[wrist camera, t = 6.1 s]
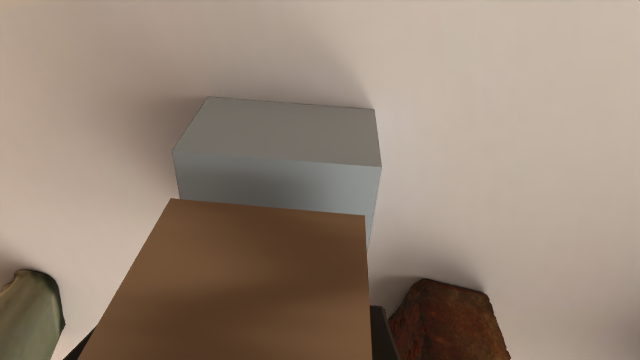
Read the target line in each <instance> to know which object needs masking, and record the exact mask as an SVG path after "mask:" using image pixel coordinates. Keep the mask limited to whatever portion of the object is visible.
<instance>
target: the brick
mask: <svg viewBox="0 0 640 360" xmlns="http://www.w3.org/2000/svg"><path fill="white" fill-rule="evenodd" d="M489 300H490V299H489V297H488V296H487V295H486V294H484V293H481V292H477V291H473V290H469V289H464V288H460V287H456V286H452V285H447V284H443V283H439V282H435V281H431V280H427V279H422V280H420V281H418V282H417V283H415V284H414V285H413V286H412V287H411V289H410V291H409V293H408V294H407V295H406V297H405V299H404V301H403V303H402V304H401V307H400V308H399V309H398V310H397V311H396V313H395V314H393V315H392V316H391V317H390V319H389V320H388V324H389V327H390V330H391V333H392V336H393V339H394V342H395V345H396V348H397V350H398V353H399V356H400V359H401V360H510V359H511V357H510V355H509V352H508V351H507V350H506V348H507V347H506V345H505V342H504V338H503V336H502V333H501V330H500V328H499V326H498V323H497V320H496V317H495V316H494V312H493V308H492V304H491V303H490V302H489Z"/></svg>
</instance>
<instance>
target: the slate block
mask: <svg viewBox="0 0 640 360" xmlns="http://www.w3.org/2000/svg"><path fill="white" fill-rule="evenodd" d="M172 153H173V159H174V165H175V171H176V177H177V184H178V190H179V196H180V199H184V200H195V201H207V202H218V203H229V204H241V205H252V206H263V207H275V208H286V209H298V210H309V211H320V212H332V213H343V214H354V215H365V226H366V246H367V251H368V245H369V239H370V233H371V227H372V222H373V216H374V210H375V204H376V198H377V193H378V187H379V181H380V175H381V169H382V165H381V157H380V149H379V141H378V133H377V125H376V117H375V110H373V109H360V108H347V107H334V106H322V105H309V104H296V103H283V102H270V101H257V100H244V99H232V98H219V97H208V98H207V99H206V101H205V102H204V104H203V105H202V107H201V108H200V110H199V111H198V113H197V114H196V116H195V117H194V119H193V120H192V122H191V123H190V125H189V126H188V128H187V129H186V131H185V132H184V134H183V135H182V137H181V138H180V140H179V141H178V143H177V144H176V146H175V147H174V149H173V150H172Z"/></svg>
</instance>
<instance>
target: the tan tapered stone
mask: <svg viewBox="0 0 640 360" xmlns="http://www.w3.org/2000/svg"><path fill="white" fill-rule="evenodd" d="M65 325H66V324H65V320H64V318H63V312H62V305H61V299H60V294H59V288H58V285H57V284H56V282H55V281H54V280H53V279H52V278H51V277H49V276H47V275H44V274H41V273H38V272H34V271H22V270H20V271H17V272H16V273H15V274H14V280H13V282H12V283H9V284H8V285H5V286H4V288H3V290H2V292H1V293H0V360H50V359H51V357H52V354H53V352H54V350H55V347H56V345H57V342H58V340H59V338H60V335H61V332H62V330H63V329H64V327H65Z"/></svg>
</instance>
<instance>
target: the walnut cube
mask: <svg viewBox="0 0 640 360" xmlns="http://www.w3.org/2000/svg"><path fill="white" fill-rule="evenodd" d="M77 360H372V346H371V326H370V306H369V286H368V266H367V246H366V226H365V215H354V214H343V213H332V212H320V211H309V210H298V209H286V208H275V207H263V206H252V205H241V204H229V203H218V202H207V201H195V200H184V199H173V198H171V199H170V201H169V202H168V204H167V206H166V207H165V209H164V211H163V213H162V214H161V216H160V218H159V220H158V221H157V223H156V225H155V226H154V228H153V230H152V232H151V233H150V235H149V237H148V239H147V240H146V242H145V244H144V245H143V247H142V249H141V251H140V252H139V254H138V256H137V257H136V259H135V261H134V263H133V264H132V266H131V268H130V270H129V271H128V273H127V275H126V276H125V278H124V280H123V282H122V283H121V285H120V287H119V289H118V290H117V292H116V294H115V295H114V297H113V299H112V301H111V302H110V304H109V306H108V308H107V309H106V311H105V313H104V314H103V316H102V318H101V320H100V321H99V323H98V325H97V327H96V328H95V330H94V332H93V333H92V335H91V337H90V339H89V340H88V342H87V344H86V346H85V347H84V349H83V351H82V352H81V354H80V356H79V358H78V359H77Z"/></svg>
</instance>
